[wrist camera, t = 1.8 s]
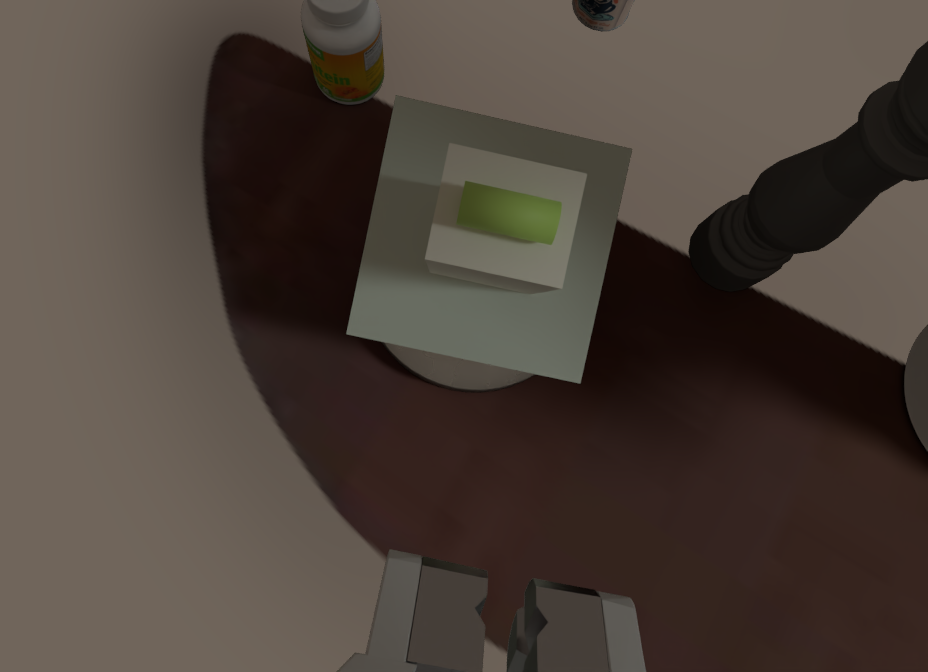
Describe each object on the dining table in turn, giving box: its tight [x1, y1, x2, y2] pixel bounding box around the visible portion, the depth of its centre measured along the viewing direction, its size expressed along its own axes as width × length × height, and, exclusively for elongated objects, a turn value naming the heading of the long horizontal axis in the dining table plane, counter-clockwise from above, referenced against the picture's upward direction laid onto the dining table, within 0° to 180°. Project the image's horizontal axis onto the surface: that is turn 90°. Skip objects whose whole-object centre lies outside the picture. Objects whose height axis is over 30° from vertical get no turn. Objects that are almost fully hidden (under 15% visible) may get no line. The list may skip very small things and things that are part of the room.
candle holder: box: [689, 41, 928, 292], centre depth 38 cm, size 6×6×25 cm
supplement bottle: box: [301, 0, 384, 105], centre depth 45 cm, size 5×5×10 cm
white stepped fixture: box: [346, 95, 632, 384], centre depth 32 cm, size 14×14×13 cm
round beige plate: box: [381, 342, 535, 393], centre depth 43 cm, size 16×16×8 cm
